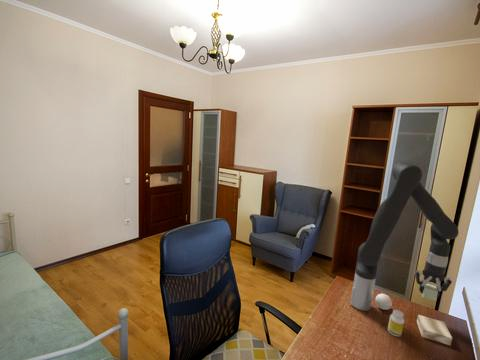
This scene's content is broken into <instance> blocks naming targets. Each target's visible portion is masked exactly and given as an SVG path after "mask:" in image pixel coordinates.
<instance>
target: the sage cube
mask: <svg viewBox="0 0 480 360" xmlns="http://www.w3.org/2000/svg"><path fill="white" fill-rule="evenodd" d="M420 294H421V296H422V298H424V299H427V300H430V301H433V302H436V301H437V299H438V297H437V294H438V290H437V286H436V285H433V284H430V283H427V284H425V286H424V290H423V294H422V293H421V292H420Z"/></svg>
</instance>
